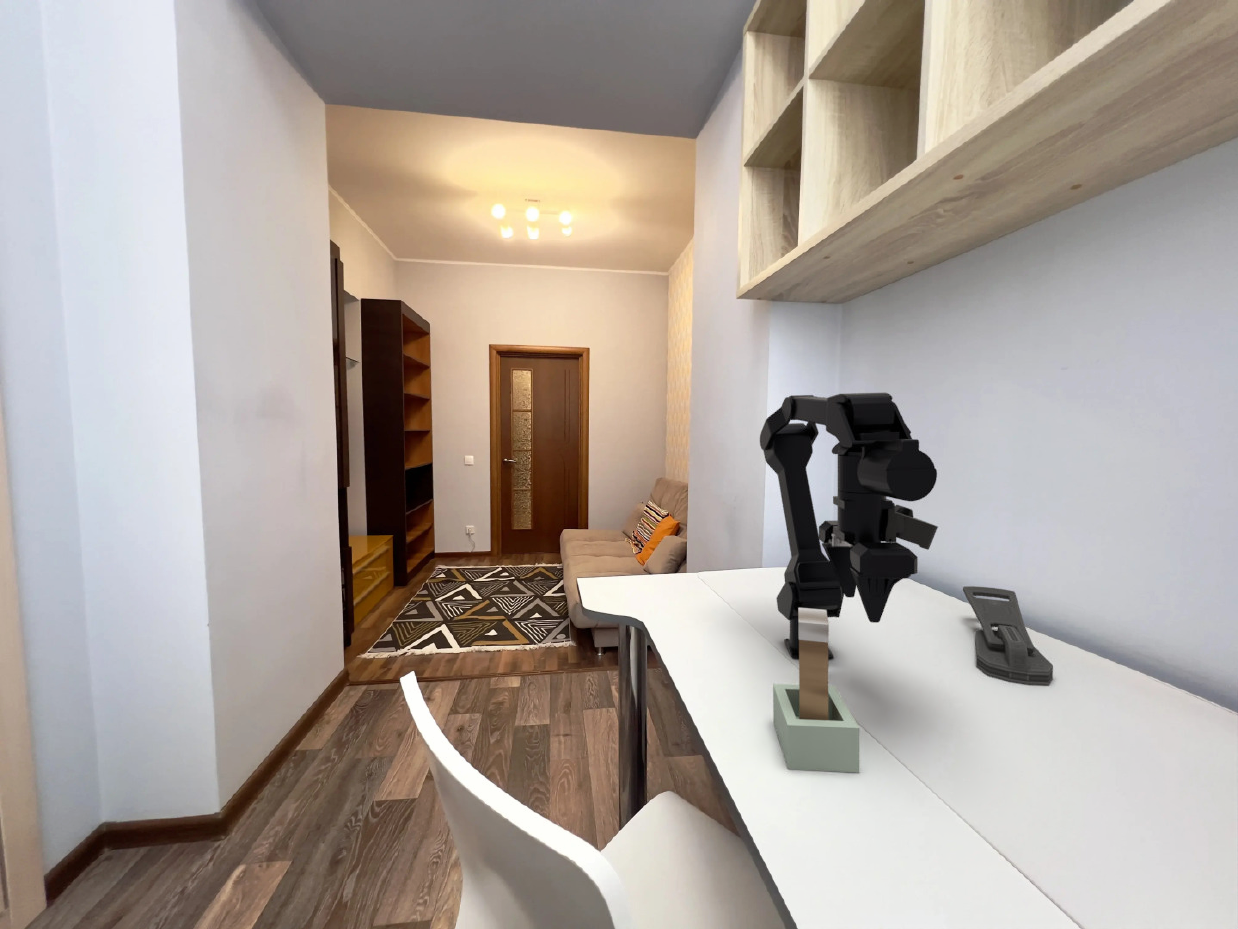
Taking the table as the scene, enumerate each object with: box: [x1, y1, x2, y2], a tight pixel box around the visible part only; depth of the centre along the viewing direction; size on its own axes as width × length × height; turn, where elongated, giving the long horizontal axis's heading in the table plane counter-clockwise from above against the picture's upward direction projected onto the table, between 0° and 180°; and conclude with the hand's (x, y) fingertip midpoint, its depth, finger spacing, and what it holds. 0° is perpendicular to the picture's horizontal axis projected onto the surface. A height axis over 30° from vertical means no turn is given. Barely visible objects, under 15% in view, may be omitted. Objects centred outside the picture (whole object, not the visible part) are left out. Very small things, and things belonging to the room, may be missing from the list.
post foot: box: [772, 683, 860, 773], centre depth 59 cm, size 9×7×5 cm
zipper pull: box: [962, 586, 1054, 687], centre depth 82 cm, size 9×7×25 cm
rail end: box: [798, 608, 830, 720], centre depth 59 cm, size 5×3×14 cm, turn 161°
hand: (861, 608), depth 67 cm, fingers open, 9 cm apart
